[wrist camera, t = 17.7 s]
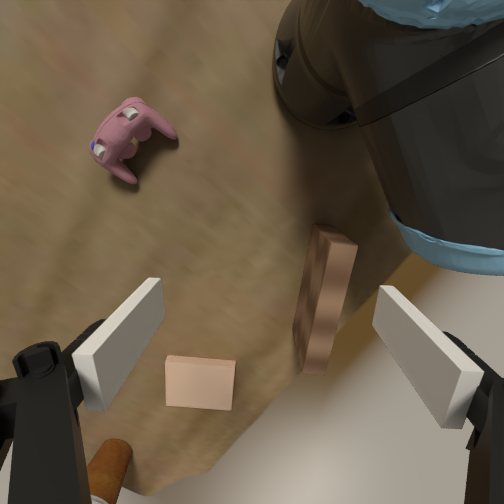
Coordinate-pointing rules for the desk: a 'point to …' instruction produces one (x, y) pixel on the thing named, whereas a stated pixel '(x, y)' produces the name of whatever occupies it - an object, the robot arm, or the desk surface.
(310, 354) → the wooden plank
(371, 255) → the desk surface
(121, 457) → the disposable coffee cup
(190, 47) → the desk surface
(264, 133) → the desk surface
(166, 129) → the video game controller
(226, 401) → the tile
